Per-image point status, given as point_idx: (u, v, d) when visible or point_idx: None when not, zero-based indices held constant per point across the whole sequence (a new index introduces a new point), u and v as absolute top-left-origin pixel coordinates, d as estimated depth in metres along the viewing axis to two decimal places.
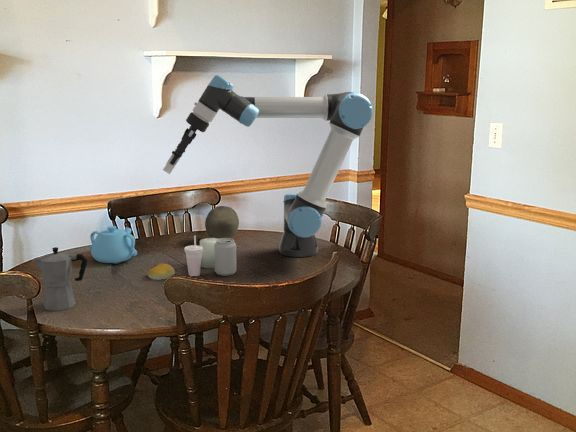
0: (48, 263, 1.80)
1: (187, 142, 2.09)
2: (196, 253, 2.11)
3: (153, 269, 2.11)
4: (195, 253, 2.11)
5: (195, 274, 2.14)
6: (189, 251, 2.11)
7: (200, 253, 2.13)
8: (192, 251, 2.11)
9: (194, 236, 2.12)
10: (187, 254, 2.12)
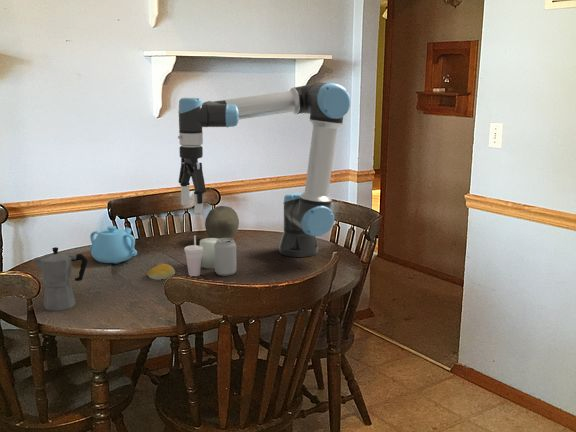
0: (48, 263, 1.80)
1: (201, 175, 2.02)
2: (196, 253, 2.11)
3: (153, 269, 2.11)
4: (195, 253, 2.11)
5: (195, 274, 2.14)
6: (189, 251, 2.11)
7: (200, 253, 2.13)
8: (192, 251, 2.11)
9: (194, 236, 2.12)
10: (187, 254, 2.12)
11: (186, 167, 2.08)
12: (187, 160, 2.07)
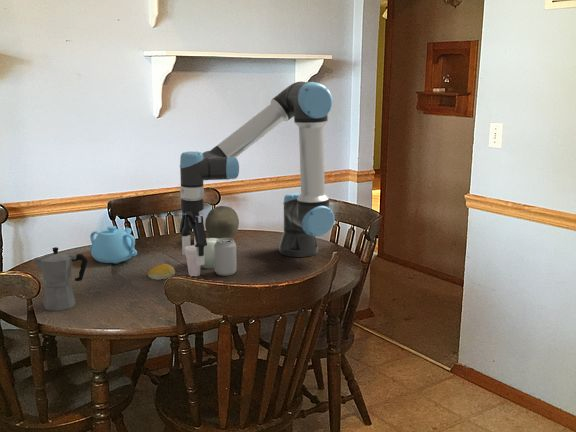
0: (48, 263, 1.80)
1: (202, 229, 2.05)
2: None
3: (153, 269, 2.12)
4: (195, 253, 2.11)
5: (195, 274, 2.14)
6: (189, 251, 2.11)
7: None
8: (192, 251, 2.11)
9: (194, 236, 2.12)
10: (187, 254, 2.12)
11: (187, 219, 2.12)
12: (188, 212, 2.11)
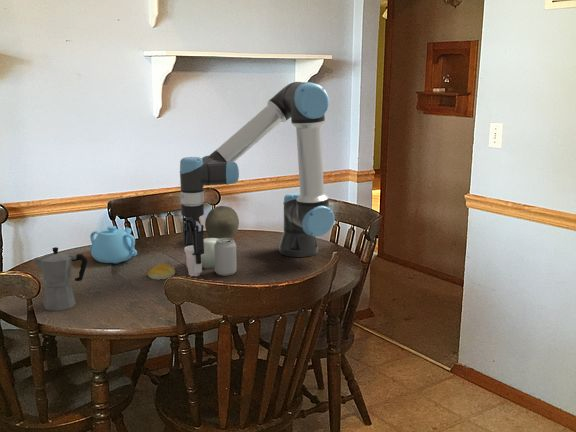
0: (48, 263, 1.80)
1: (201, 237, 2.07)
2: None
3: (153, 269, 2.12)
4: None
5: (195, 274, 2.14)
6: (189, 251, 2.11)
7: None
8: (192, 251, 2.11)
9: None
10: (187, 254, 2.12)
11: (188, 224, 2.12)
12: (189, 218, 2.11)
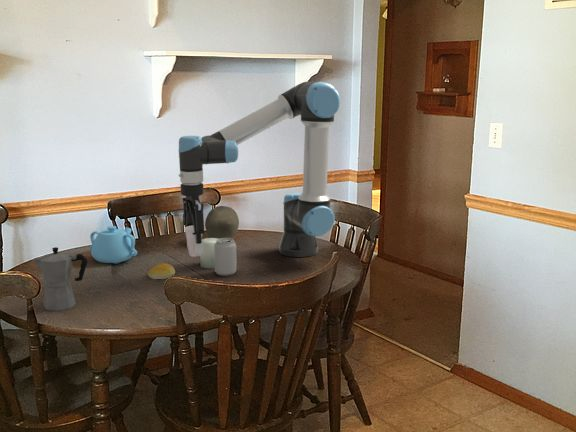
0: (48, 263, 1.80)
1: (201, 217, 2.06)
2: None
3: (153, 269, 2.12)
4: None
5: (196, 254, 2.12)
6: (189, 231, 2.09)
7: None
8: (192, 231, 2.09)
9: None
10: (187, 234, 2.10)
11: (188, 204, 2.10)
12: (188, 197, 2.10)
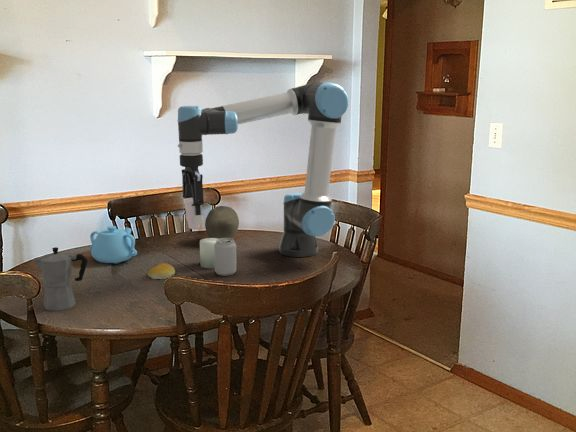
0: (48, 263, 1.80)
1: (200, 187, 2.03)
2: None
3: (154, 269, 2.12)
4: None
5: (195, 226, 2.10)
6: (188, 202, 2.07)
7: None
8: (191, 202, 2.07)
9: None
10: (186, 206, 2.08)
11: (187, 175, 2.08)
12: (187, 168, 2.07)
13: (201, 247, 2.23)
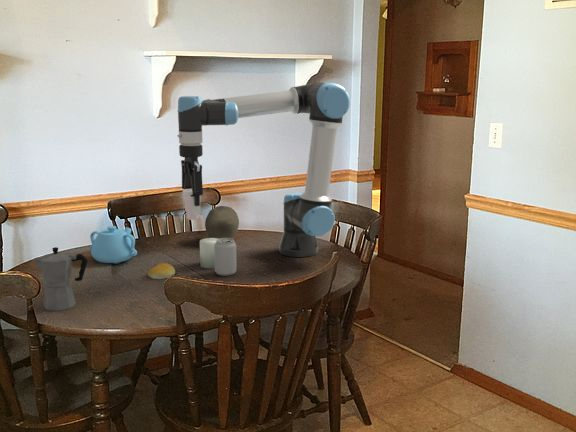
0: (48, 263, 1.80)
1: (200, 178, 2.03)
2: None
3: (154, 268, 2.12)
4: None
5: (194, 217, 2.09)
6: (187, 193, 2.06)
7: None
8: (190, 193, 2.06)
9: None
10: (185, 196, 2.07)
11: (186, 166, 2.07)
12: (187, 159, 2.07)
13: (201, 247, 2.23)
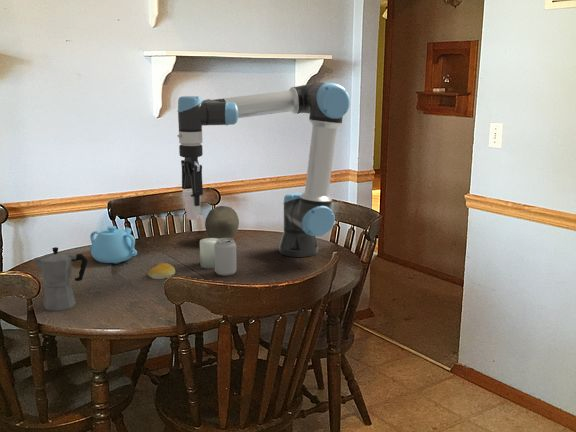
0: (48, 263, 1.80)
1: (200, 178, 2.03)
2: None
3: (154, 268, 2.12)
4: None
5: (194, 217, 2.09)
6: (187, 193, 2.06)
7: None
8: (190, 193, 2.06)
9: None
10: (185, 196, 2.07)
11: (186, 166, 2.07)
12: (187, 159, 2.07)
13: (201, 247, 2.23)
